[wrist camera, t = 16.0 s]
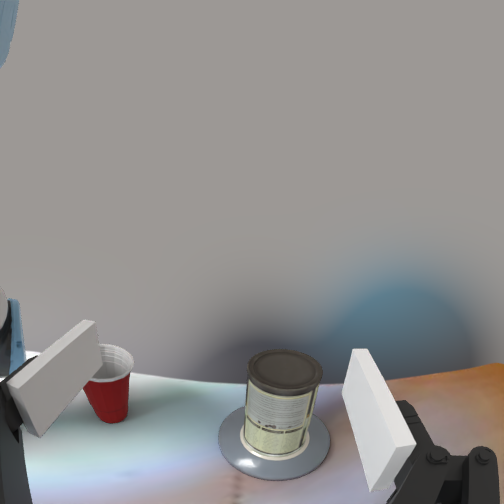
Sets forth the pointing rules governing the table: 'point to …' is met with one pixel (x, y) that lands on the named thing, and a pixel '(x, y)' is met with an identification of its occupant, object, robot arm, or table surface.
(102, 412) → the plastic cup
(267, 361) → the coffee can
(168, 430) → the table surface
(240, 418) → the slate plate
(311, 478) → the table surface
